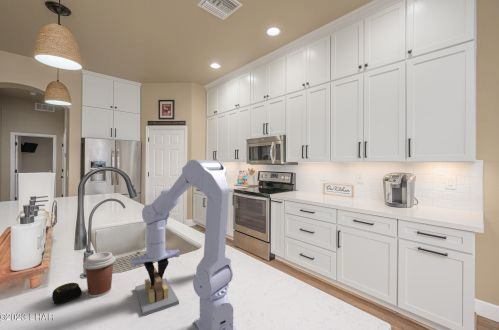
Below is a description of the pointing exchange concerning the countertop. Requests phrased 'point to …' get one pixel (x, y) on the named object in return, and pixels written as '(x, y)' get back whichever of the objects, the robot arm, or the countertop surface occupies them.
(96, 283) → the coffee cup
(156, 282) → the door panel
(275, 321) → the countertop surface
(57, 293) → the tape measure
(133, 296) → the countertop surface
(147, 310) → the hinge board
